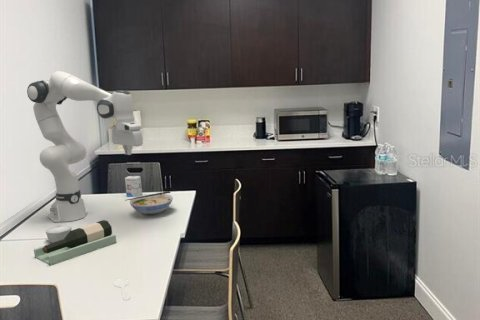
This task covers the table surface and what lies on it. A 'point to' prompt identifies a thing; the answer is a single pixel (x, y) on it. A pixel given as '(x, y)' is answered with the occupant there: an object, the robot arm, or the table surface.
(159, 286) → the table surface
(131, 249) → the table surface
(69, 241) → the wine bottle
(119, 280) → the spoon
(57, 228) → the ramekin
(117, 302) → the table surface
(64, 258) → the tray
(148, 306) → the table surface
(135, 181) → the ink box
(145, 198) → the ramen bowl
